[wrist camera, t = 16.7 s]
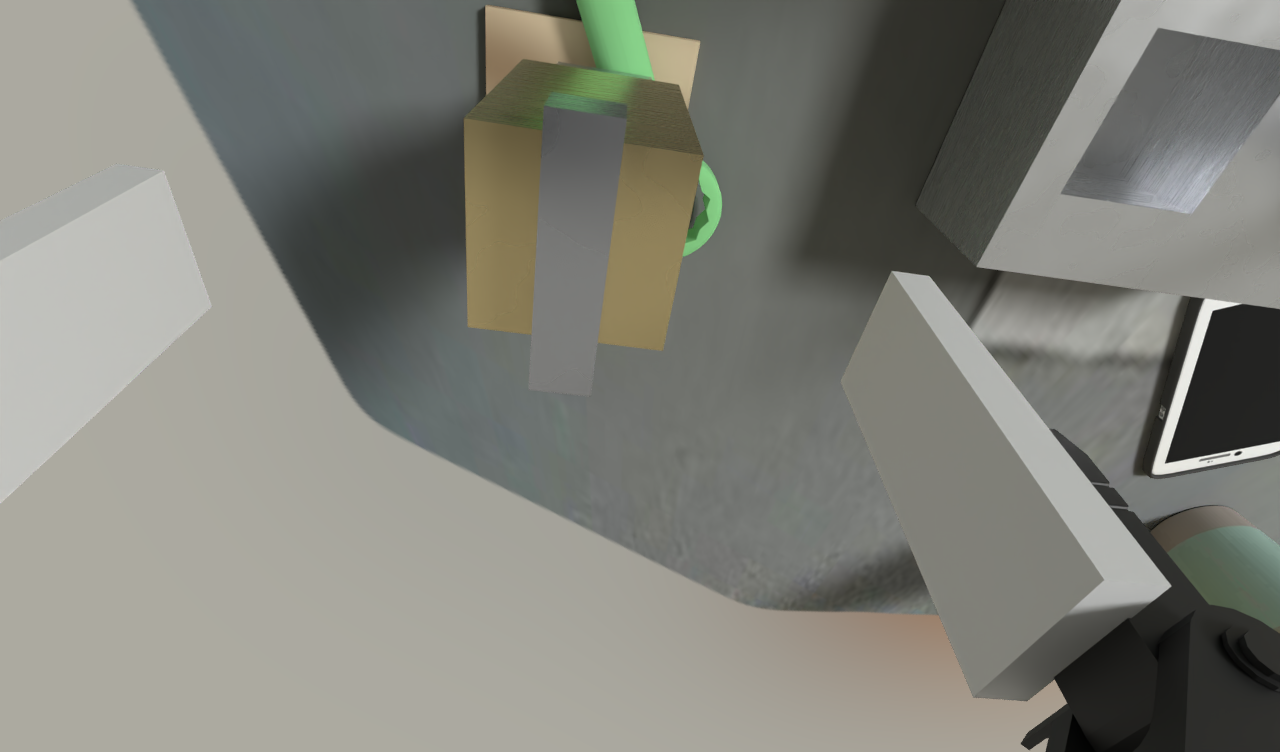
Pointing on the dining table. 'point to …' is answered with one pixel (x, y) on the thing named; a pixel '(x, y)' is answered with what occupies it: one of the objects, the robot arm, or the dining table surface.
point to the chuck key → (577, 213)
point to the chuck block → (1121, 147)
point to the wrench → (624, 50)
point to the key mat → (573, 47)
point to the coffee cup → (1225, 560)
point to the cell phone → (1219, 391)
